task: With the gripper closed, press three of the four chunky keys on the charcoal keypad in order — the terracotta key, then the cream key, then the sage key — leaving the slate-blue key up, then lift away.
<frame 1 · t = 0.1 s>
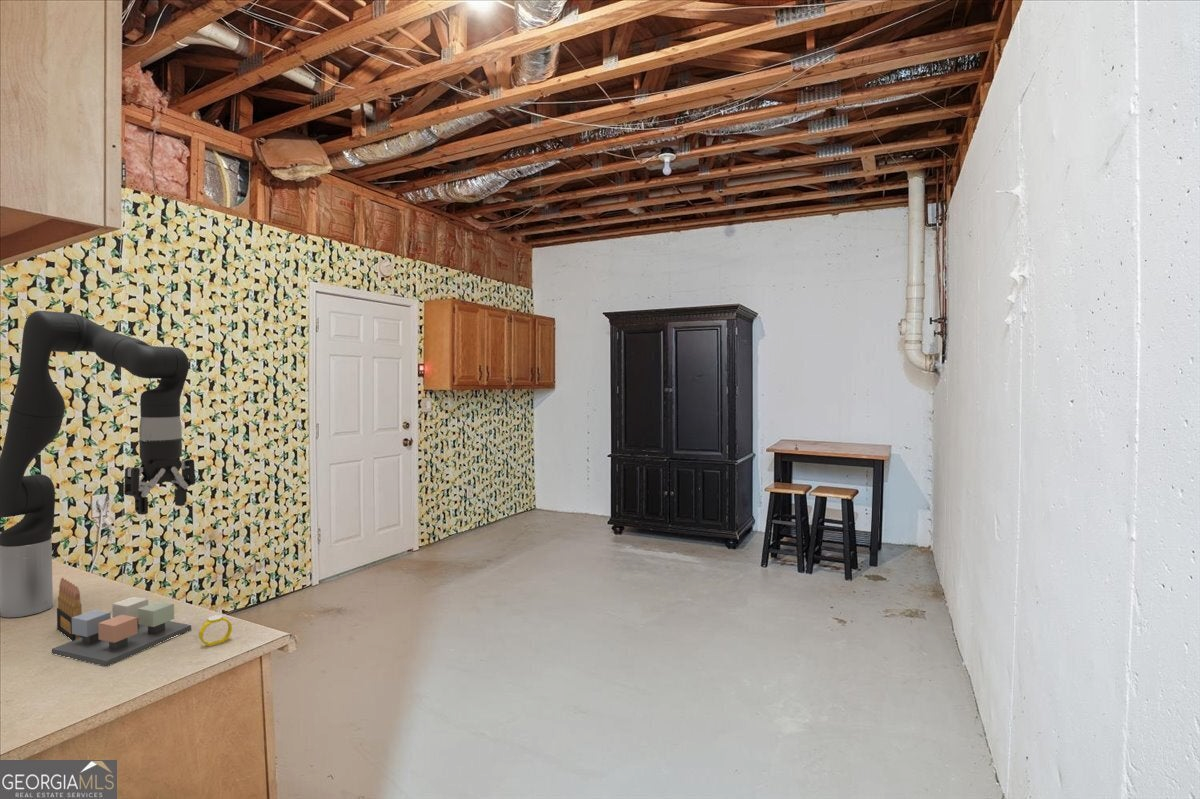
hand: (161, 509, 131), 29 cm above the counter, tool pointing down, fingers open, 8 cm apart
ammunition clip: (70, 635, 133), on the counter
slate key: (91, 622, 127), point 5 cm above the counter, slide at 0.0 cm
keypad board: (124, 641, 130), on the counter
sage key: (156, 613, 132), point 5 cm above the counter, slide at 0.0 cm
terracotta key: (118, 628, 125), point 5 cm above the counter, slide at 0.0 cm
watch: (215, 644, 130), on the counter
cream key: (130, 608, 135), point 5 cm above the counter, slide at 0.0 cm
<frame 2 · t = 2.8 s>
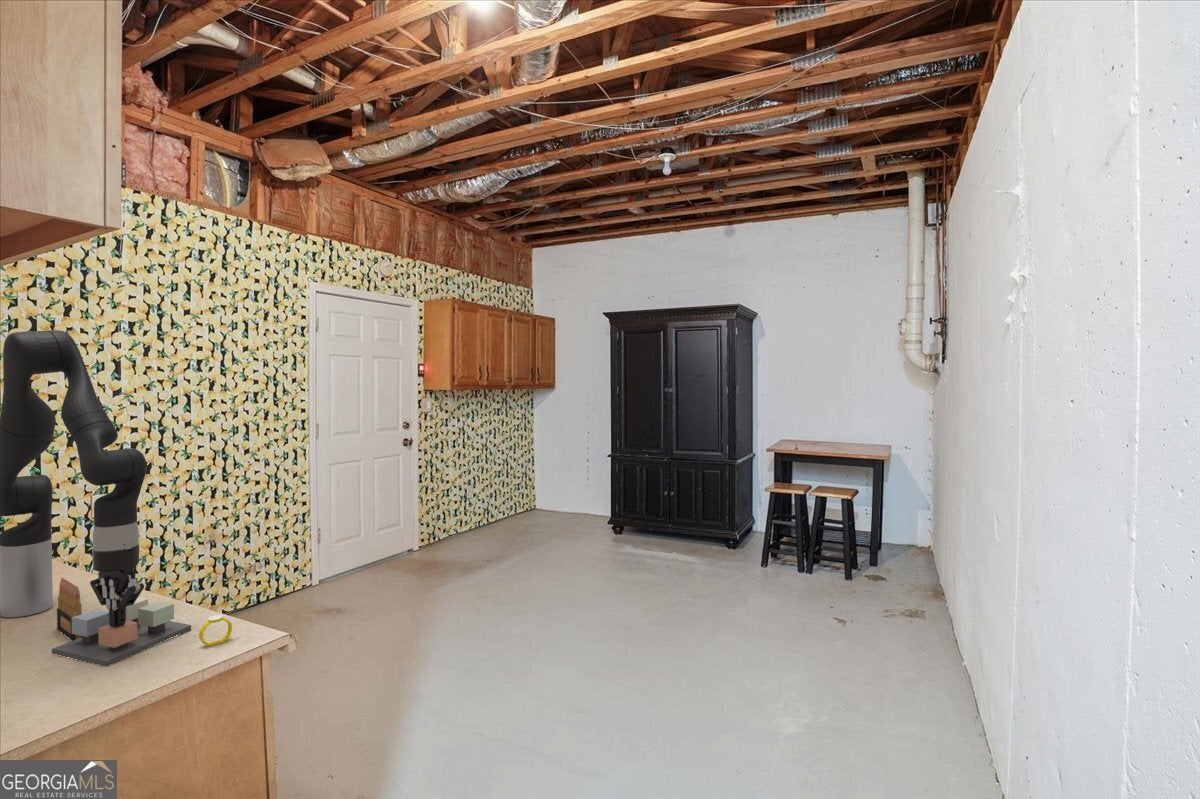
hand: (117, 625, 125), 6 cm above the counter, tool pointing down, fingers closed
terracotta key: (118, 633, 125), point 4 cm above the counter, slide at 1.1 cm, touching gripper
everything else where it was.
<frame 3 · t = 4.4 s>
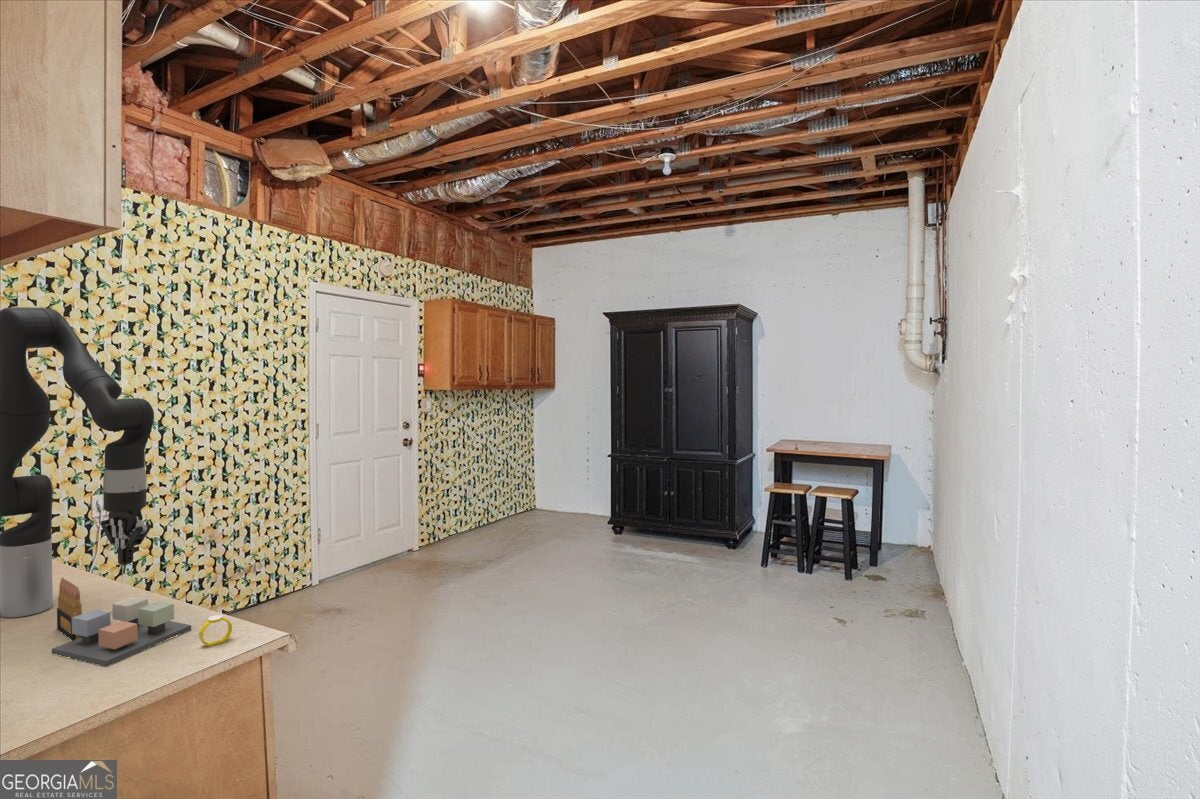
hand: (125, 563, 133), 16 cm above the counter, tool pointing down, fingers closed
terracotta key: (118, 634, 125), point 4 cm above the counter, slide at 1.4 cm
everything else where it was.
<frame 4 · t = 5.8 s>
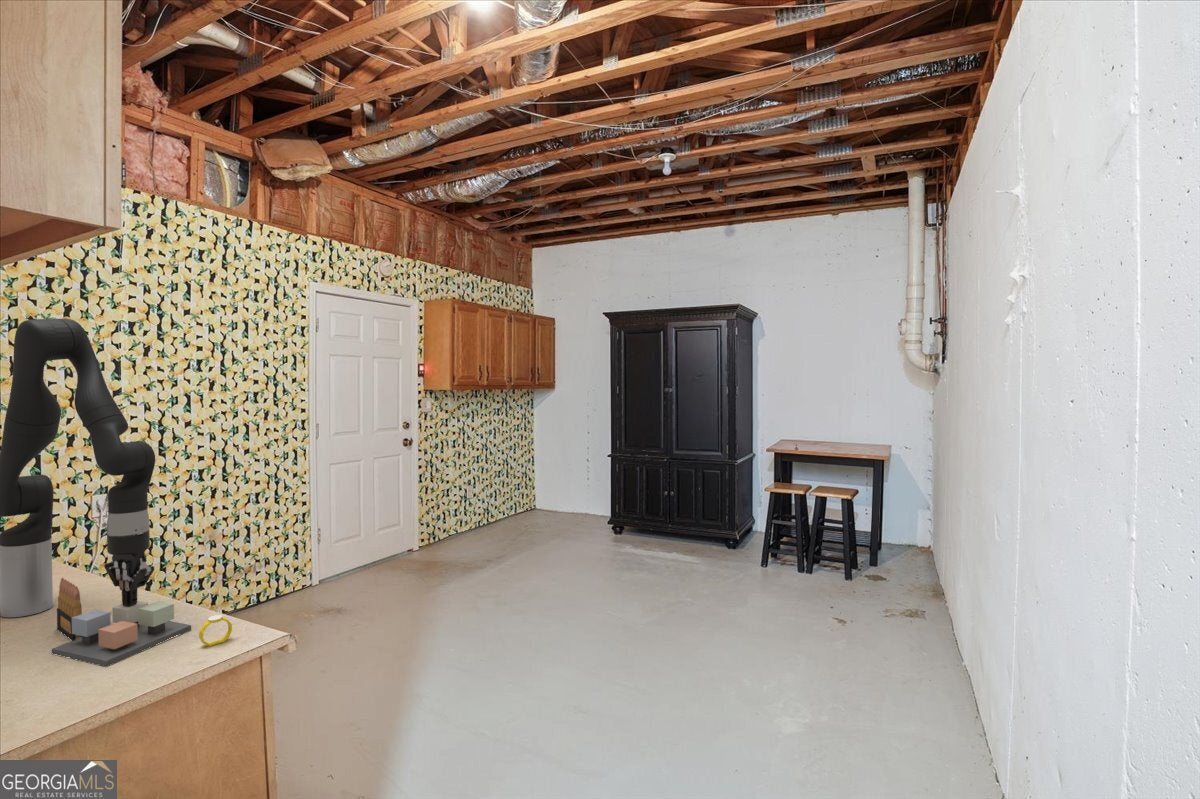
hand: (129, 605, 134), 6 cm above the counter, tool pointing down, fingers closed
cream key: (130, 612, 135), point 4 cm above the counter, slide at 0.8 cm, touching gripper
everything else where it was.
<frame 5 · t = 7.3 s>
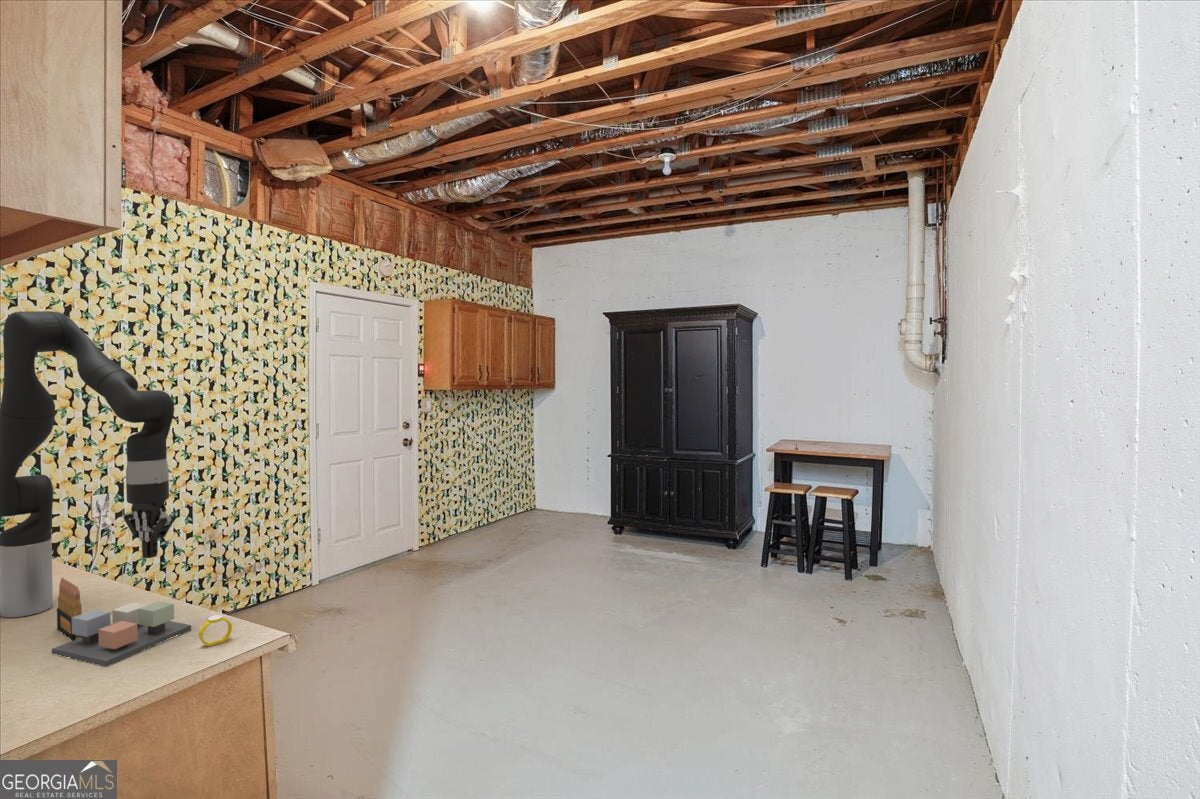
hand: (150, 557, 132), 18 cm above the counter, tool pointing down, fingers closed
cream key: (130, 614, 135), point 4 cm above the counter, slide at 1.4 cm
everything else where it was.
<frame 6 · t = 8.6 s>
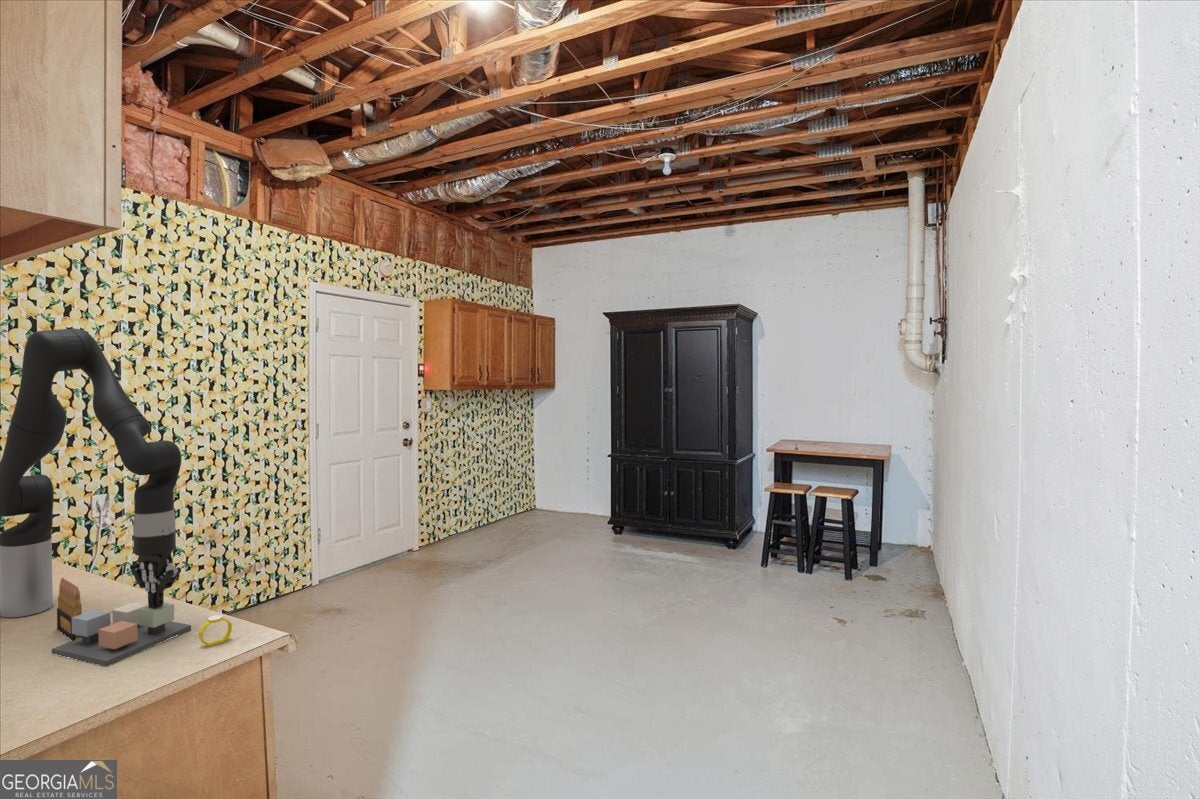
hand: (156, 607, 132), 7 cm above the counter, tool pointing down, fingers closed
sage key: (156, 614, 132), point 5 cm above the counter, slide at 0.2 cm, touching gripper
everything else where it was.
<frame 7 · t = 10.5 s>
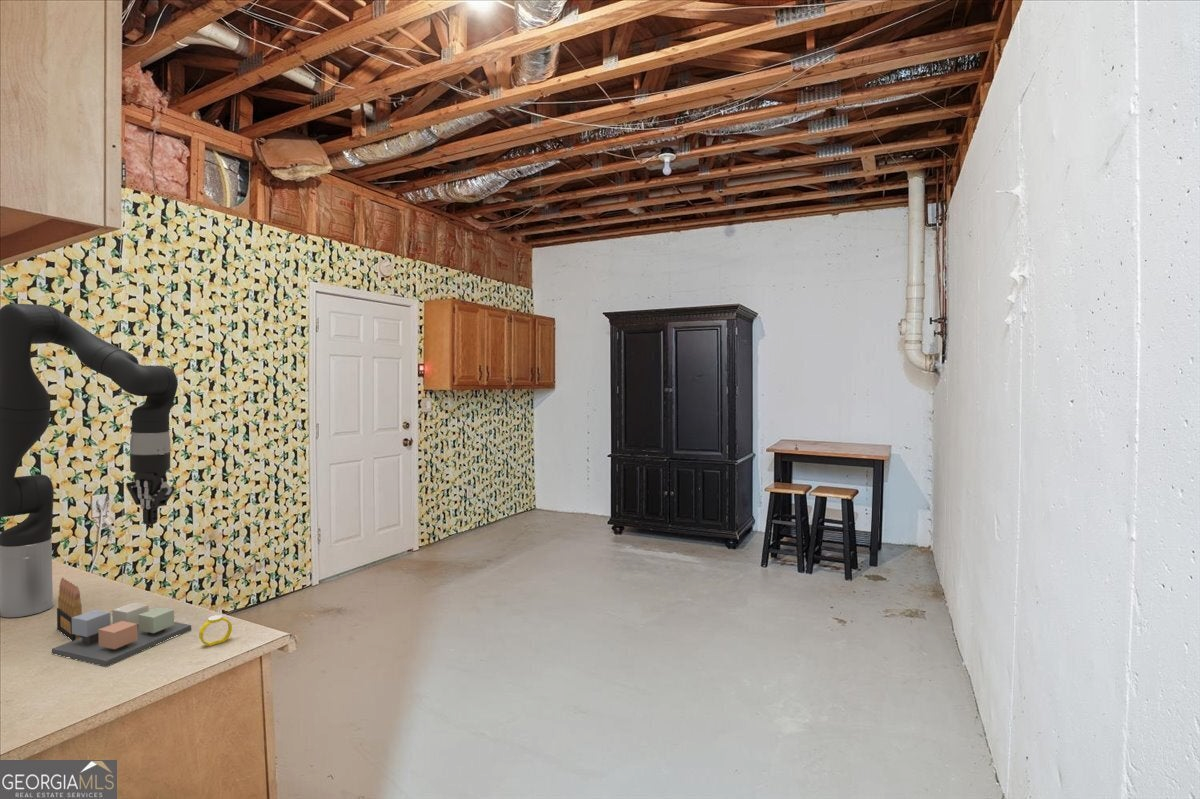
hand: (150, 523, 139), 24 cm above the counter, tool pointing down, fingers closed
sage key: (156, 619, 132), point 4 cm above the counter, slide at 1.4 cm
everything else where it was.
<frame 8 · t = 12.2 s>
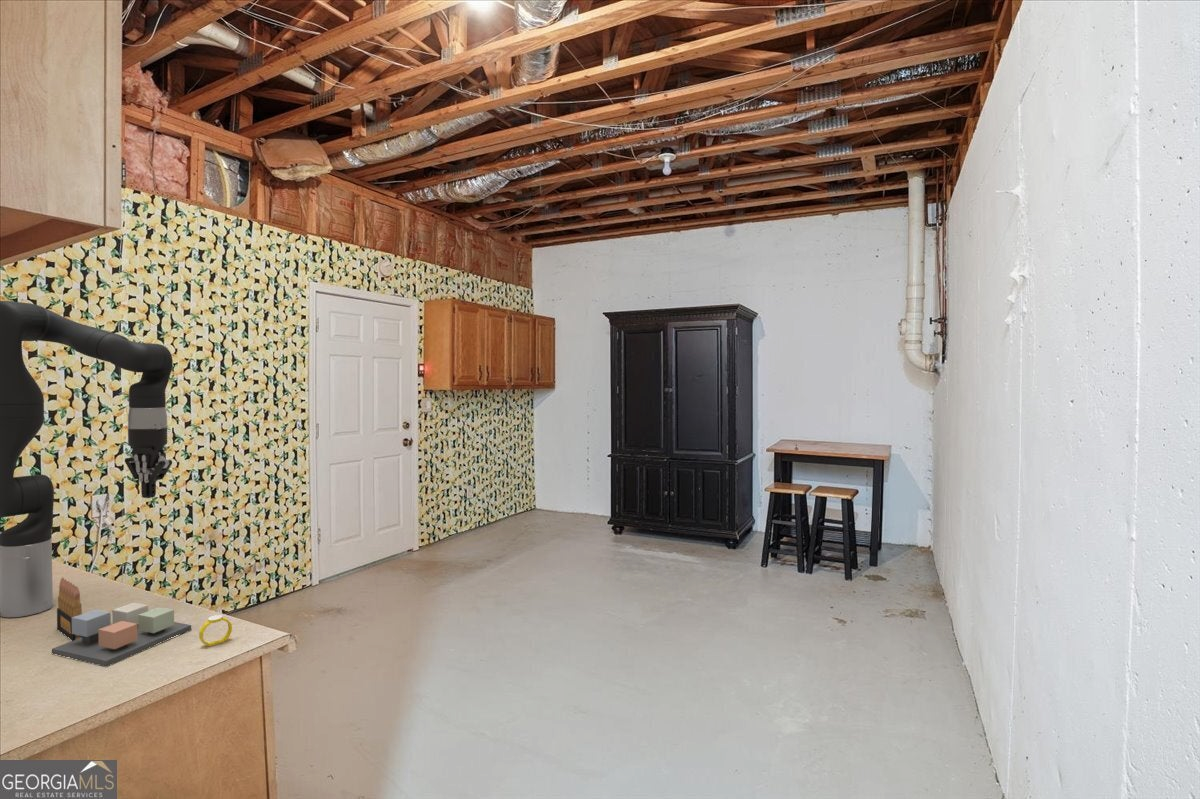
hand: (148, 497, 143), 29 cm above the counter, tool pointing down, fingers closed
nothing on the counter moved.
at the end: terracotta key slide at 1.4 cm; cream key slide at 1.4 cm; sage key slide at 1.4 cm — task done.
